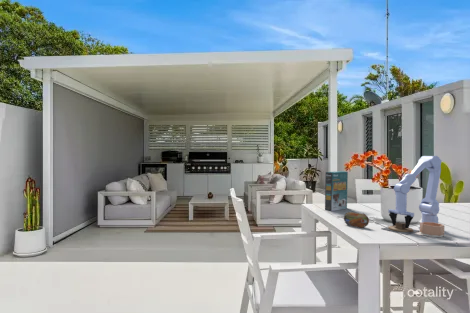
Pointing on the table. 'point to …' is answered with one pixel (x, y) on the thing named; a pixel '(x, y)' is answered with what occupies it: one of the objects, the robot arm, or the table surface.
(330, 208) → the cake mix box
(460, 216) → the table surface
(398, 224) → the lid
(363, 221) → the tin
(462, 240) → the table surface
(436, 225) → the bowl
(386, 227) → the mat
